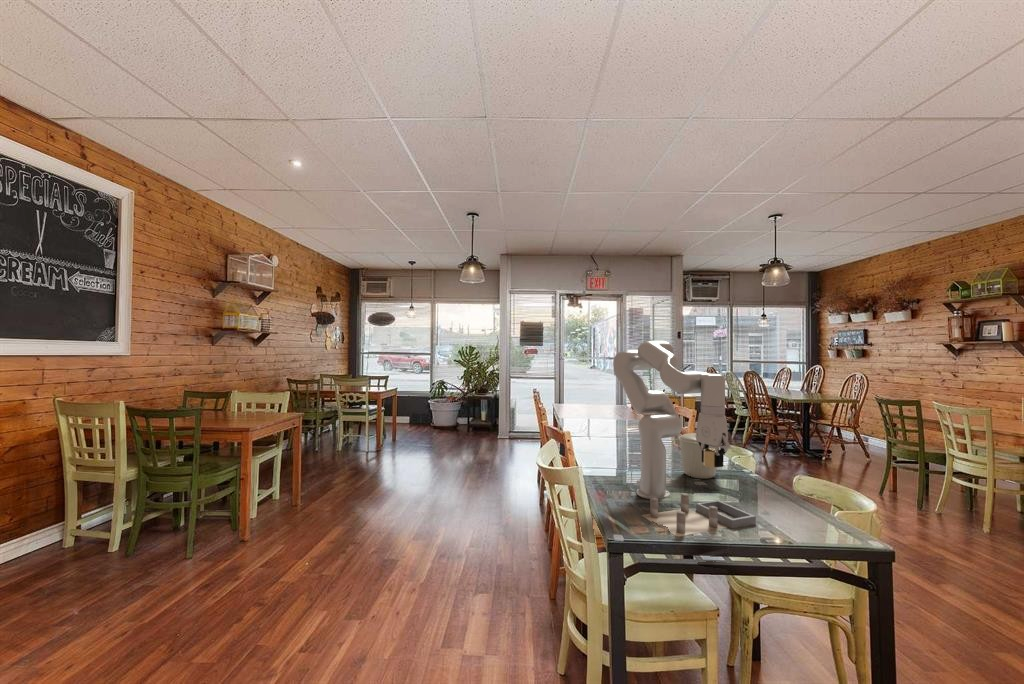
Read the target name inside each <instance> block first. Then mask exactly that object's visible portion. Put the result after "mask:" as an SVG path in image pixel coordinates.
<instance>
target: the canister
mask: <svg viewBox="0 0 1024 684" xmlns="http://www.w3.org/2000/svg"><path fill="white" fill-rule="evenodd" d="M696 437H697V428H696V429H695V432H689V433H684V434H682V435H680V436H679V435H678V440H679V447H680V457H681V465H682V470H683V472H684V474H686V476H688V477H690V476H691V478H694V479H702V480H703V479H704V480H705V479H712V478H714V477H715V475H716V473H717V469H718V467H716V468H713V467H708V466H705V465H704V464H703V462H702V450H701V449H700V445H699V443H698V441H697V440H696ZM710 448H711V449H715V447H714V446H710ZM718 448H719V449H720V447H718Z"/></svg>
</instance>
